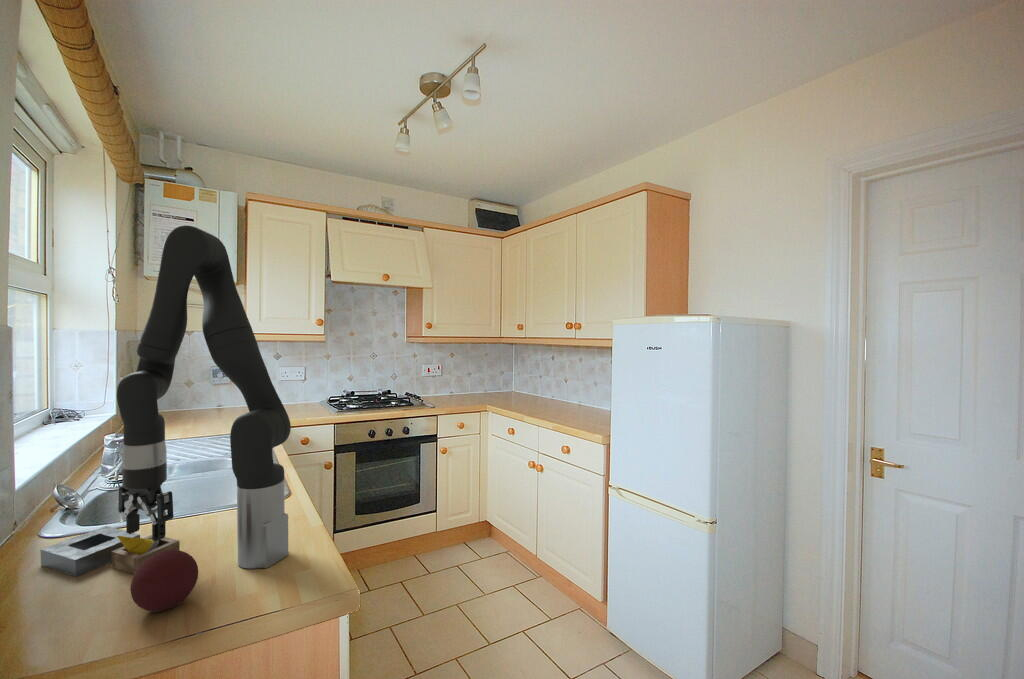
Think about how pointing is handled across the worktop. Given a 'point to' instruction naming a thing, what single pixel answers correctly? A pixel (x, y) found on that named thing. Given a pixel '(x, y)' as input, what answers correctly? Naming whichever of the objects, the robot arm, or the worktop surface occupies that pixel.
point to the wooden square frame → (134, 561)
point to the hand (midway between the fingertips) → (145, 535)
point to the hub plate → (84, 551)
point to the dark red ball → (164, 580)
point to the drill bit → (138, 544)
